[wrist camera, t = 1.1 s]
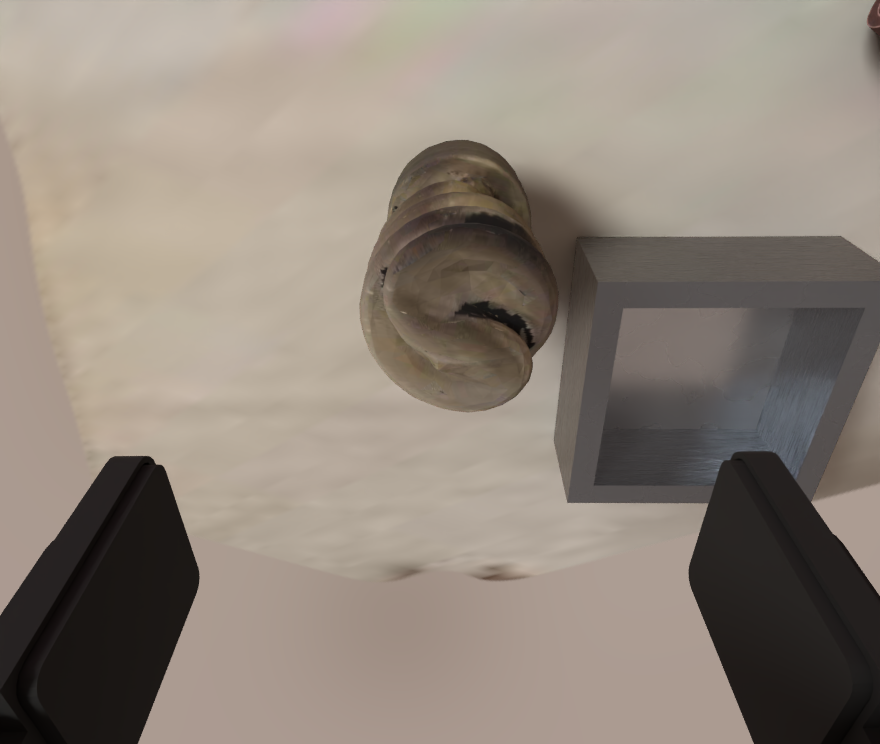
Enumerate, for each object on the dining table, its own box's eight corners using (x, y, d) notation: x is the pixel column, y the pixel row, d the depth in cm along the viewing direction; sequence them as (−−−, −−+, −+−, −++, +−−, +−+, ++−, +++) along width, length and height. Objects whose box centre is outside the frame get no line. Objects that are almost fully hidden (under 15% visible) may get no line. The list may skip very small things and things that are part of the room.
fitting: (841, 236, 29) (906, 280, 25) (768, 441, 36) (810, 503, 32) (577, 237, 30) (598, 282, 25) (553, 440, 36) (567, 502, 32)
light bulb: (504, 244, 30) (544, 446, 17) (390, 231, 29) (345, 427, 17) (526, 120, 27) (594, 255, 14) (399, 105, 26) (352, 228, 14)
